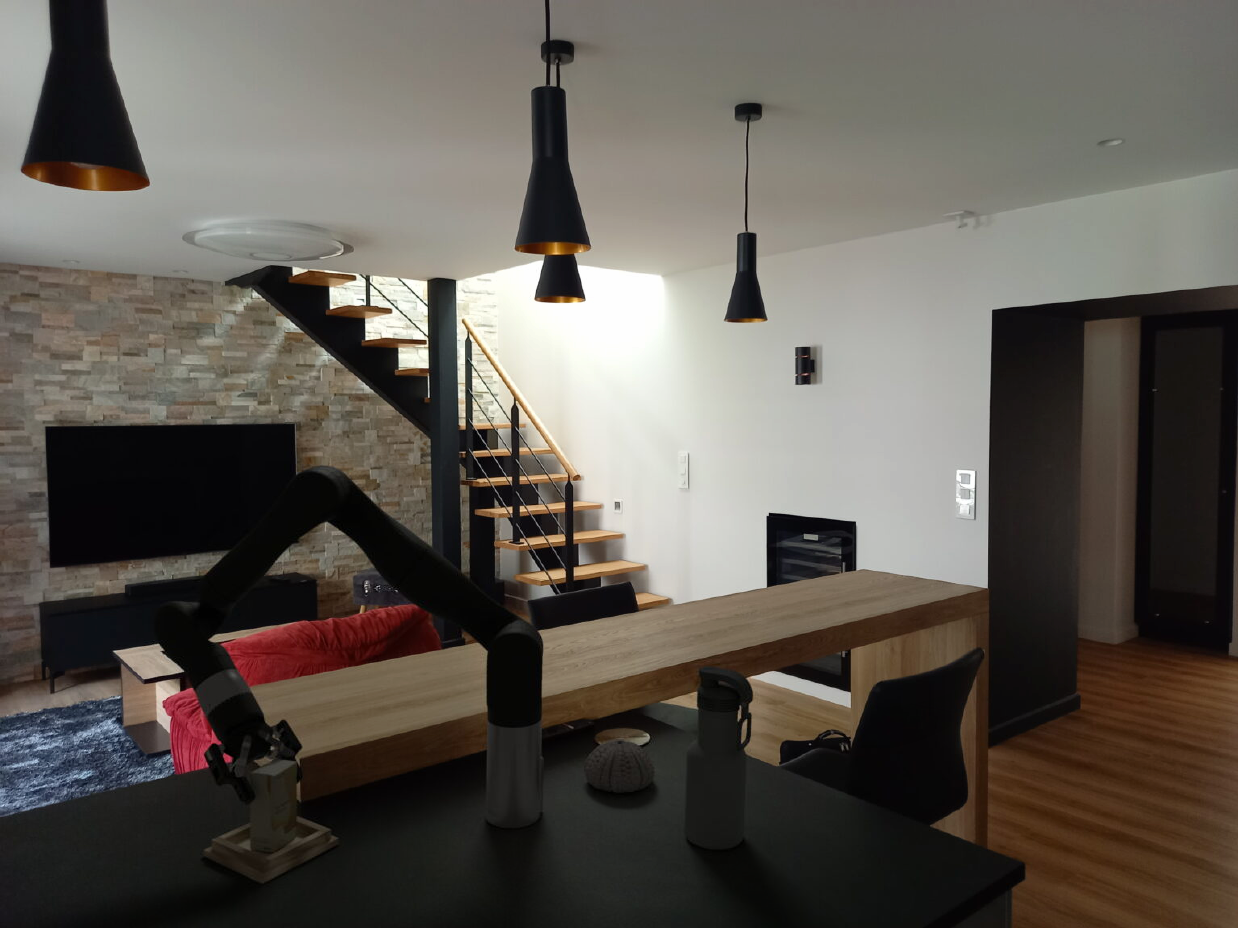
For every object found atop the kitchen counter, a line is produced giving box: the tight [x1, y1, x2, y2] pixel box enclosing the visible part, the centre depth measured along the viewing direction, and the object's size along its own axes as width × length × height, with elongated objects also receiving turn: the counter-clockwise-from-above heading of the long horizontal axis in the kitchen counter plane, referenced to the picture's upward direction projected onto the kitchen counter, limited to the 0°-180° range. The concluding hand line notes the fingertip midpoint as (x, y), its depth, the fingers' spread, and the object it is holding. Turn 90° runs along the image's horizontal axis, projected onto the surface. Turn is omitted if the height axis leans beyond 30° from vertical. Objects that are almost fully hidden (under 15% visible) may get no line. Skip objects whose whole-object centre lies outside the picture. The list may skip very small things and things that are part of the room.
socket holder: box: [203, 815, 339, 884], centre depth 137 cm, size 14×14×2 cm
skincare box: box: [249, 759, 298, 853], centre depth 137 cm, size 6×4×12 cm
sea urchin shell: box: [583, 738, 656, 794], centre depth 165 cm, size 13×14×8 cm
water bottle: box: [684, 665, 754, 851], centre depth 144 cm, size 10×10×28 cm
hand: (275, 791), depth 136 cm, fingers open, 8 cm apart
